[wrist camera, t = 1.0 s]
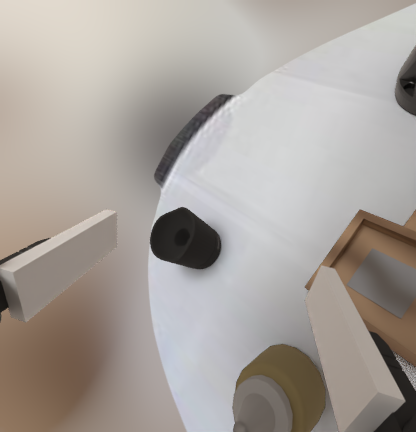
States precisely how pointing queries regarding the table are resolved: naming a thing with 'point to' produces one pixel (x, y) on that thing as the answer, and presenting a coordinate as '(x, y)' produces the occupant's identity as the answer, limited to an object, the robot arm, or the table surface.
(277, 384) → the squeeze bottle
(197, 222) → the pen holder
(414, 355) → the wooden tray with handle
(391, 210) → the table surface
